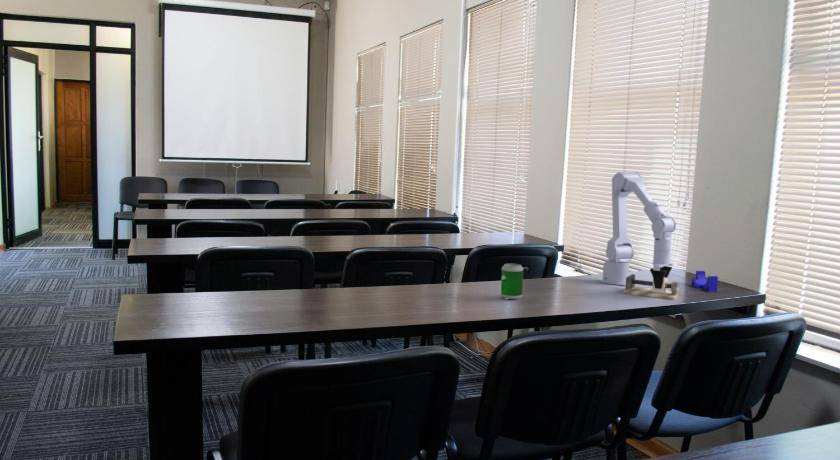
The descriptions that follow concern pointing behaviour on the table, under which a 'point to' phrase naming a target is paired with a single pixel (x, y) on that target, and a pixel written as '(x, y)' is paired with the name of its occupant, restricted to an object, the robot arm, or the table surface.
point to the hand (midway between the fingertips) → (660, 287)
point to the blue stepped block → (705, 282)
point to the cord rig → (648, 291)
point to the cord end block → (661, 288)
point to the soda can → (512, 281)
